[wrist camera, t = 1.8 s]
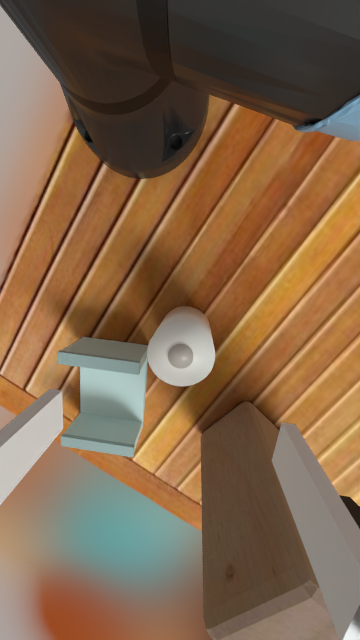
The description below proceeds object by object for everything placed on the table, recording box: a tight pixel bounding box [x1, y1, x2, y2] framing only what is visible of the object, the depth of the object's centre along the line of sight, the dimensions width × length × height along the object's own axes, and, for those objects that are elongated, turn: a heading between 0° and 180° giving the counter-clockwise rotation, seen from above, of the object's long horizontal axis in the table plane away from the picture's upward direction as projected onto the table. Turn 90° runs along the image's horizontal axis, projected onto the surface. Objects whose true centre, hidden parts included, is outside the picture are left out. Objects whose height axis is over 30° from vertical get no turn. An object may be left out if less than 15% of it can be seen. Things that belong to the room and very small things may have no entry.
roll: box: [147, 306, 215, 386], centre depth 27 cm, size 7×7×9 cm
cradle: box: [58, 337, 148, 457], centre depth 31 cm, size 14×10×6 cm
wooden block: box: [201, 401, 339, 640], centre depth 25 cm, size 10×10×20 cm
